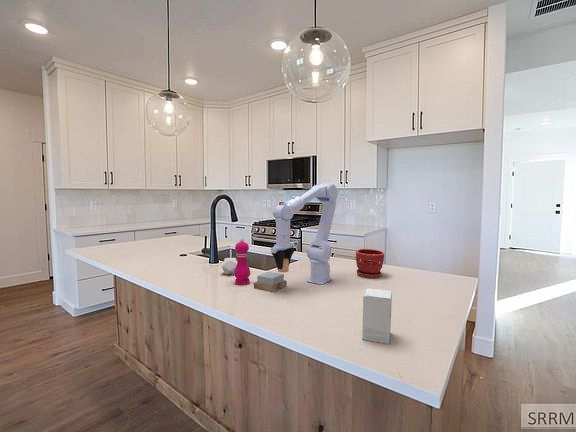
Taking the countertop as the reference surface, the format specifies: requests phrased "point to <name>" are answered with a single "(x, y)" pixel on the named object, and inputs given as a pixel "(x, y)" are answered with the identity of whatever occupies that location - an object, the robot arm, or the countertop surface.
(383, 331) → the supplement box
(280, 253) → the robot arm
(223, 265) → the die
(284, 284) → the tower base
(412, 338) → the countertop surface
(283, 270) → the cylinder
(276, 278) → the tower top
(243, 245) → the pepper mill
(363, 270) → the plant pot
